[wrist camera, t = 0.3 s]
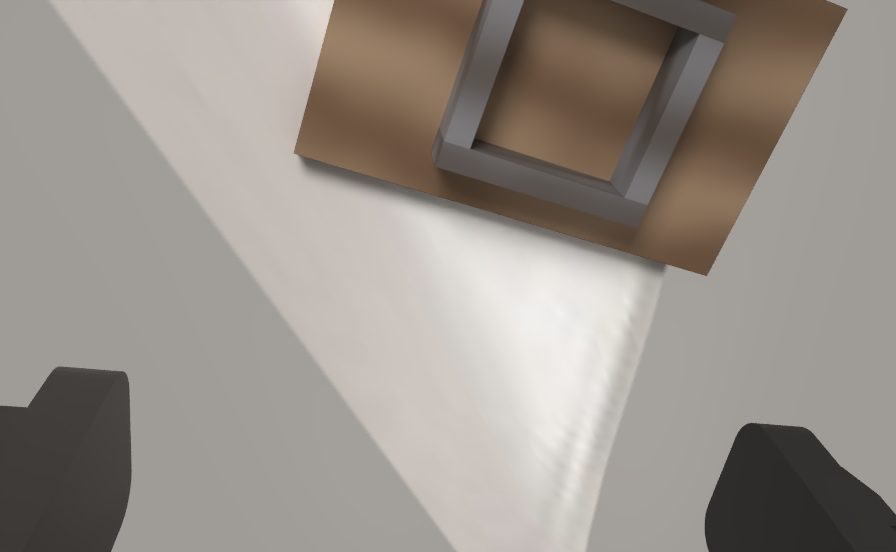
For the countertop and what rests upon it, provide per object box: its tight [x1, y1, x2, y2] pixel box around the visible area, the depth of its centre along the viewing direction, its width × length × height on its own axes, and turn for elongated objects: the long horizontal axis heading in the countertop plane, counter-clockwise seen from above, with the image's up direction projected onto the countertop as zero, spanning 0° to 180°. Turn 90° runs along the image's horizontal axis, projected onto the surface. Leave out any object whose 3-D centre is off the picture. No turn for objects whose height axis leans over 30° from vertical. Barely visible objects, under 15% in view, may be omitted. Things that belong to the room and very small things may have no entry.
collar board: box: [294, 0, 847, 276], centre depth 34 cm, size 14×22×4 cm, turn 71°
